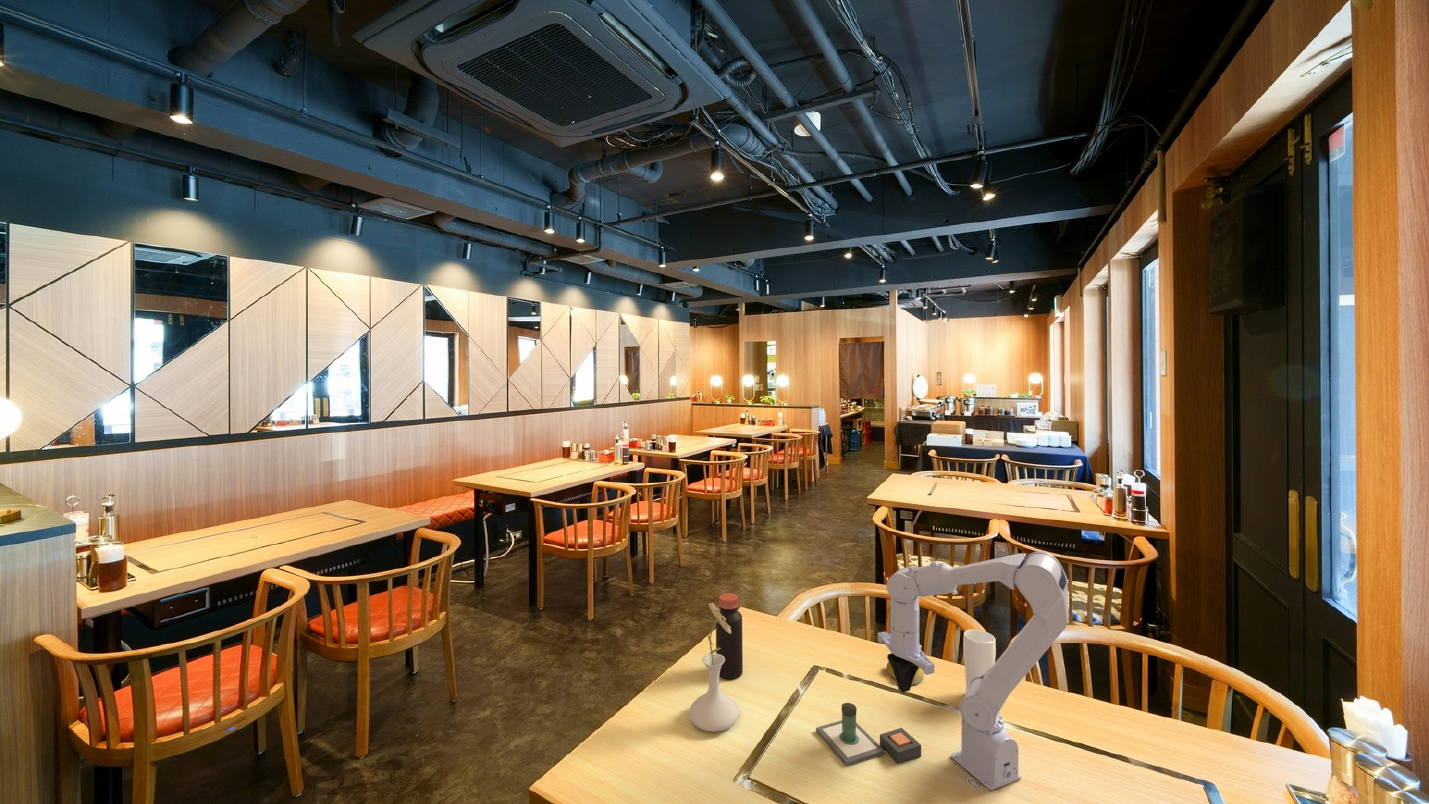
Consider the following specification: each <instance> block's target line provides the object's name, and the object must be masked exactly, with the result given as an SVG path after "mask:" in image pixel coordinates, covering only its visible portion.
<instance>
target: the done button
mask: <svg viewBox="0 0 1429 804" xmlns="http://www.w3.org/2000/svg"><path fill="white" fill-rule="evenodd" d="M890 740H891V741H892V742H894V743H895V744H896V745H897V746H898V747H899V748H900V747H903V746H906V745H909V744H911V741H910V740H909V739H908V738H907V737H906V736H904V735H903V734H902V733H901V732H900V733H897V734H894V735H891V736H890Z"/></svg>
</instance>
